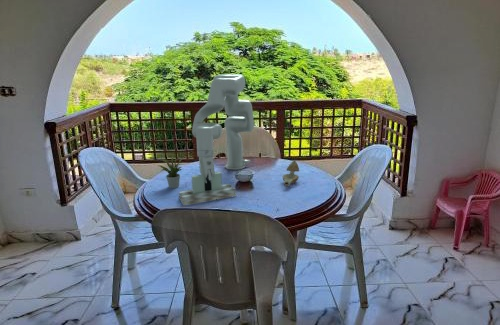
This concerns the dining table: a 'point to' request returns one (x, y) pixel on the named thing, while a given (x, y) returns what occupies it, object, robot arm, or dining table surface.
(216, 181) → the door panel
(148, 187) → the dining table surface
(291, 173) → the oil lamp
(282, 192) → the dining table surface
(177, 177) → the house plant
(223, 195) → the door track
